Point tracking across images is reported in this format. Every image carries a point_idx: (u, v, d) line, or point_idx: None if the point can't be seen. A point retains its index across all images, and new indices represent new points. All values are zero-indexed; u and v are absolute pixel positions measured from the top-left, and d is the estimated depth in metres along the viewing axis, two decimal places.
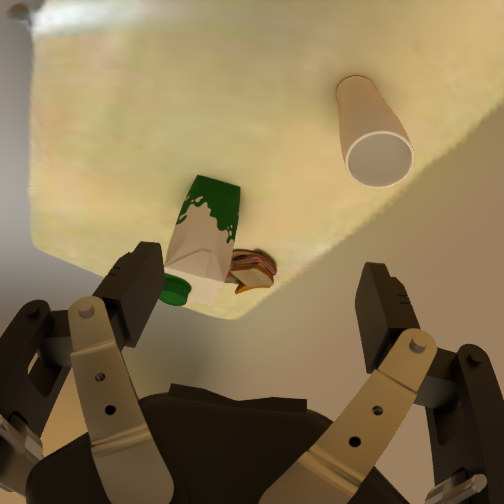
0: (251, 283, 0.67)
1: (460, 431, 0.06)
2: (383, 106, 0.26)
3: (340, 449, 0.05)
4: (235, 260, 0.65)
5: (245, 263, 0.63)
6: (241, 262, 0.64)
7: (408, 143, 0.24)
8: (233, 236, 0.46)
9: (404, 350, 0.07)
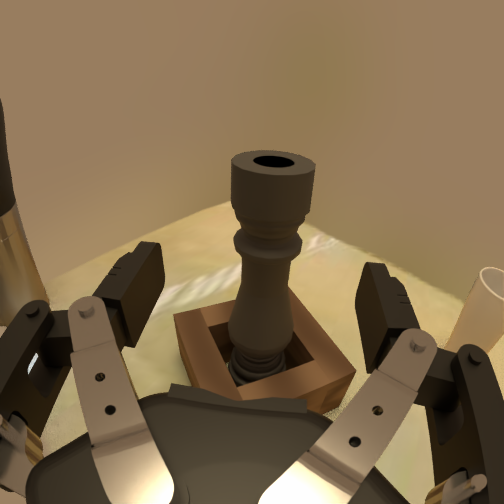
0: None
1: (460, 431, 0.06)
2: (463, 310, 0.30)
3: (340, 449, 0.05)
4: None
5: None
6: None
7: None
8: None
9: (404, 350, 0.07)
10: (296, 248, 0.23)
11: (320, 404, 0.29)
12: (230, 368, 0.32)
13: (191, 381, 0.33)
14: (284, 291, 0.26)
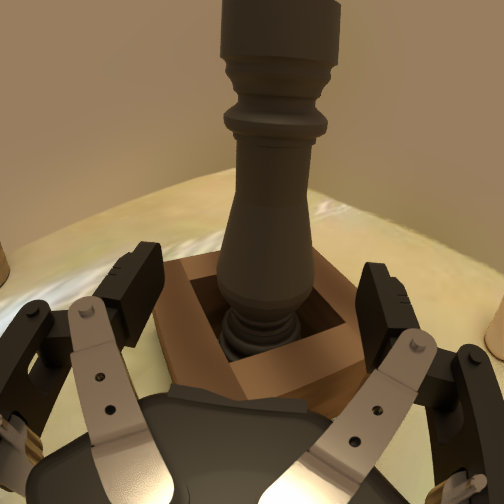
0: None
1: (460, 431, 0.06)
2: None
3: (340, 449, 0.05)
4: None
5: None
6: None
7: None
8: None
9: (404, 350, 0.07)
10: (320, 119, 0.14)
11: (354, 391, 0.19)
12: (221, 342, 0.23)
13: (166, 362, 0.23)
14: (302, 199, 0.16)
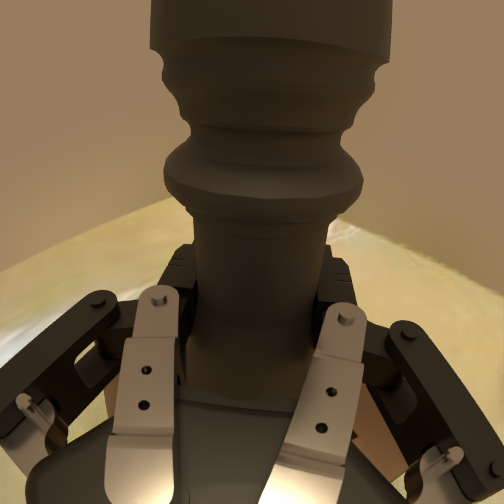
0: None
1: (416, 409, 0.07)
2: None
3: (310, 439, 0.05)
4: None
5: None
6: None
7: None
8: None
9: (335, 326, 0.08)
10: (351, 175, 0.07)
11: None
12: None
13: None
14: (309, 308, 0.09)
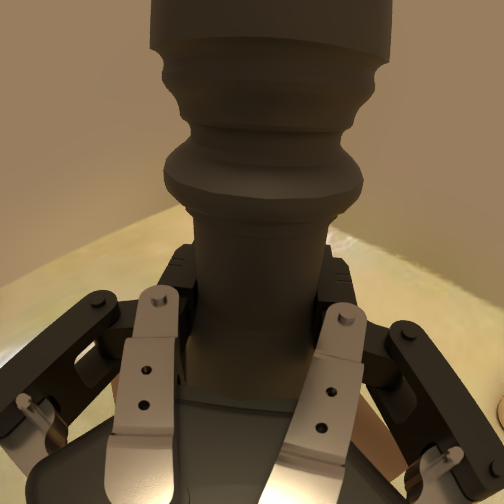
0: None
1: (416, 409, 0.07)
2: None
3: (311, 439, 0.05)
4: None
5: None
6: None
7: None
8: None
9: (335, 326, 0.08)
10: (351, 175, 0.07)
11: None
12: None
13: None
14: (309, 308, 0.09)
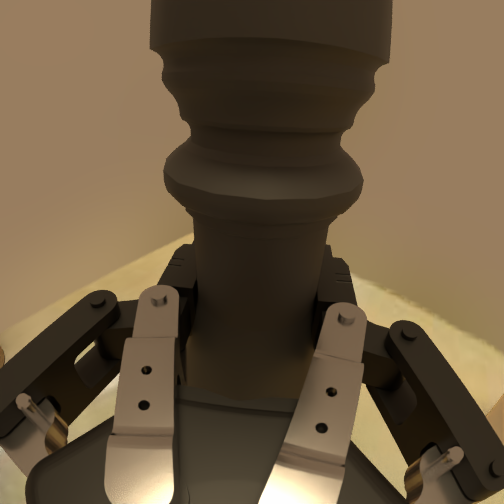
0: None
1: (416, 409, 0.07)
2: None
3: (311, 439, 0.05)
4: None
5: None
6: None
7: None
8: None
9: (335, 326, 0.08)
10: (351, 176, 0.07)
11: None
12: None
13: None
14: (308, 308, 0.10)
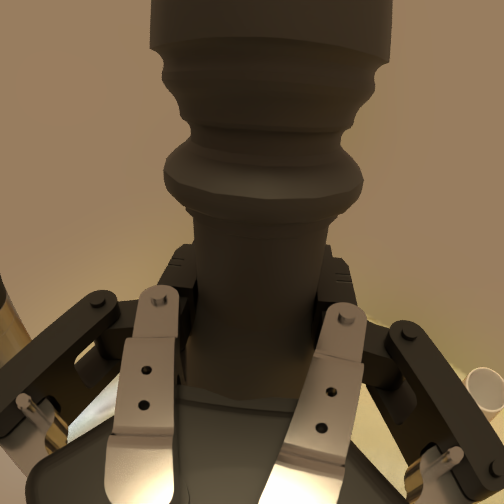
0: None
1: (416, 409, 0.07)
2: None
3: (311, 439, 0.05)
4: None
5: None
6: None
7: (469, 373, 0.28)
8: None
9: (335, 326, 0.08)
10: (351, 175, 0.07)
11: None
12: None
13: None
14: (308, 308, 0.10)
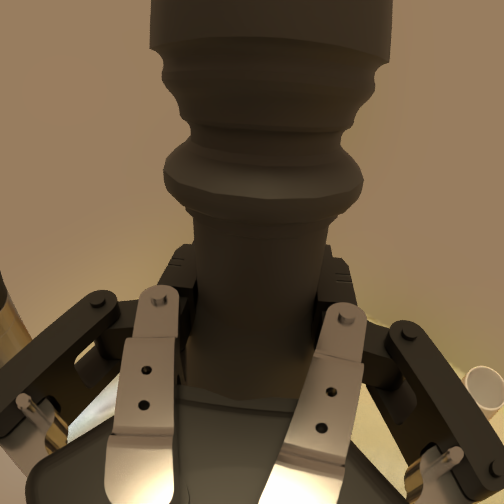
0: None
1: (416, 409, 0.07)
2: None
3: (310, 439, 0.05)
4: None
5: None
6: None
7: (468, 372, 0.28)
8: None
9: (335, 326, 0.08)
10: (351, 175, 0.07)
11: None
12: None
13: None
14: (309, 308, 0.09)
